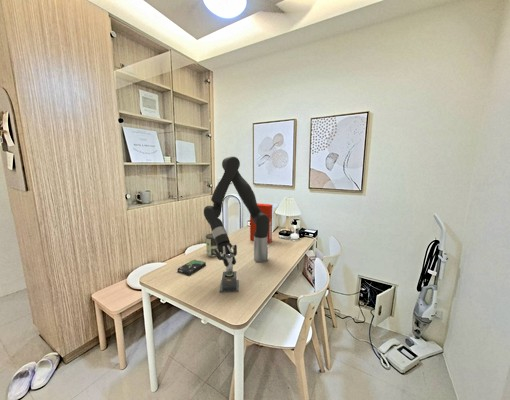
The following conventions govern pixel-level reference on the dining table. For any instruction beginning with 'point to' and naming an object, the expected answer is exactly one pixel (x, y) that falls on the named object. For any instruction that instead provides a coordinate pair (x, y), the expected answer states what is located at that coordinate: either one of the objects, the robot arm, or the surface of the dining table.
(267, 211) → the file binder
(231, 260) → the column
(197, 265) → the disk drive
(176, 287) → the dining table surface
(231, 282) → the stand
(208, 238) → the coffee can
